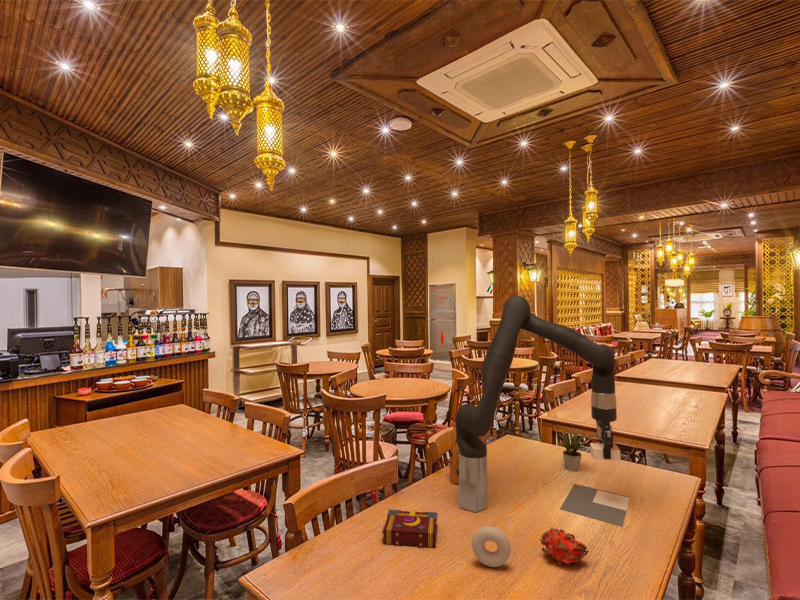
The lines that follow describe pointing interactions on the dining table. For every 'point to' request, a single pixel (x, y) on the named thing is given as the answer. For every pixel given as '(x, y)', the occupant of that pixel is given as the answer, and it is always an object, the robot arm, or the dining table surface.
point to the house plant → (572, 450)
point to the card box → (597, 452)
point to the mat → (596, 504)
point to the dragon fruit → (563, 547)
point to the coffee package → (454, 458)
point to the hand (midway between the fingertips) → (605, 454)
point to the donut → (486, 556)
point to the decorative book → (410, 528)
